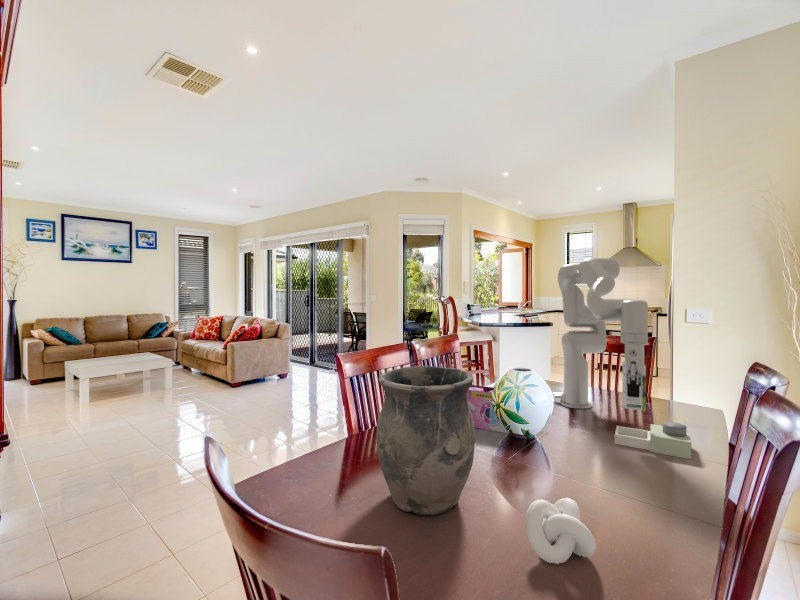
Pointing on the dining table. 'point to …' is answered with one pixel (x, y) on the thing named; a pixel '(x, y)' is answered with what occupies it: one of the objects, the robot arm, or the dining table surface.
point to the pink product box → (483, 409)
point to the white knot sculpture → (558, 530)
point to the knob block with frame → (657, 439)
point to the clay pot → (425, 437)
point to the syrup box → (640, 401)
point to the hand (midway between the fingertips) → (633, 393)
